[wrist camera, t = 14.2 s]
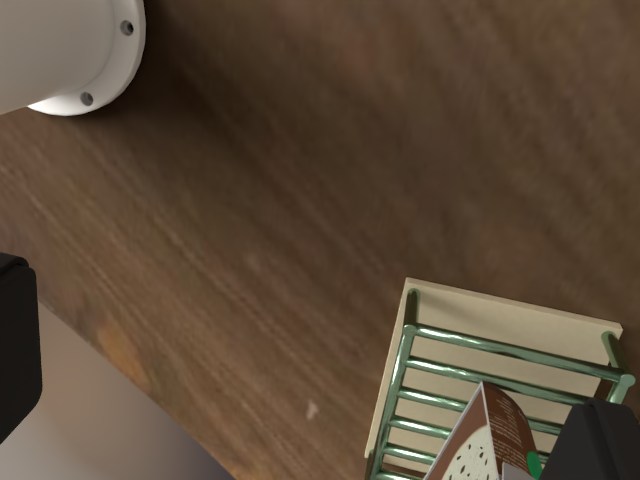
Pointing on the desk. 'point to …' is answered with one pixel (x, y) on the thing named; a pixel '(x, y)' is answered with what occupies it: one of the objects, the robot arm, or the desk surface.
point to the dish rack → (484, 370)
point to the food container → (488, 442)
